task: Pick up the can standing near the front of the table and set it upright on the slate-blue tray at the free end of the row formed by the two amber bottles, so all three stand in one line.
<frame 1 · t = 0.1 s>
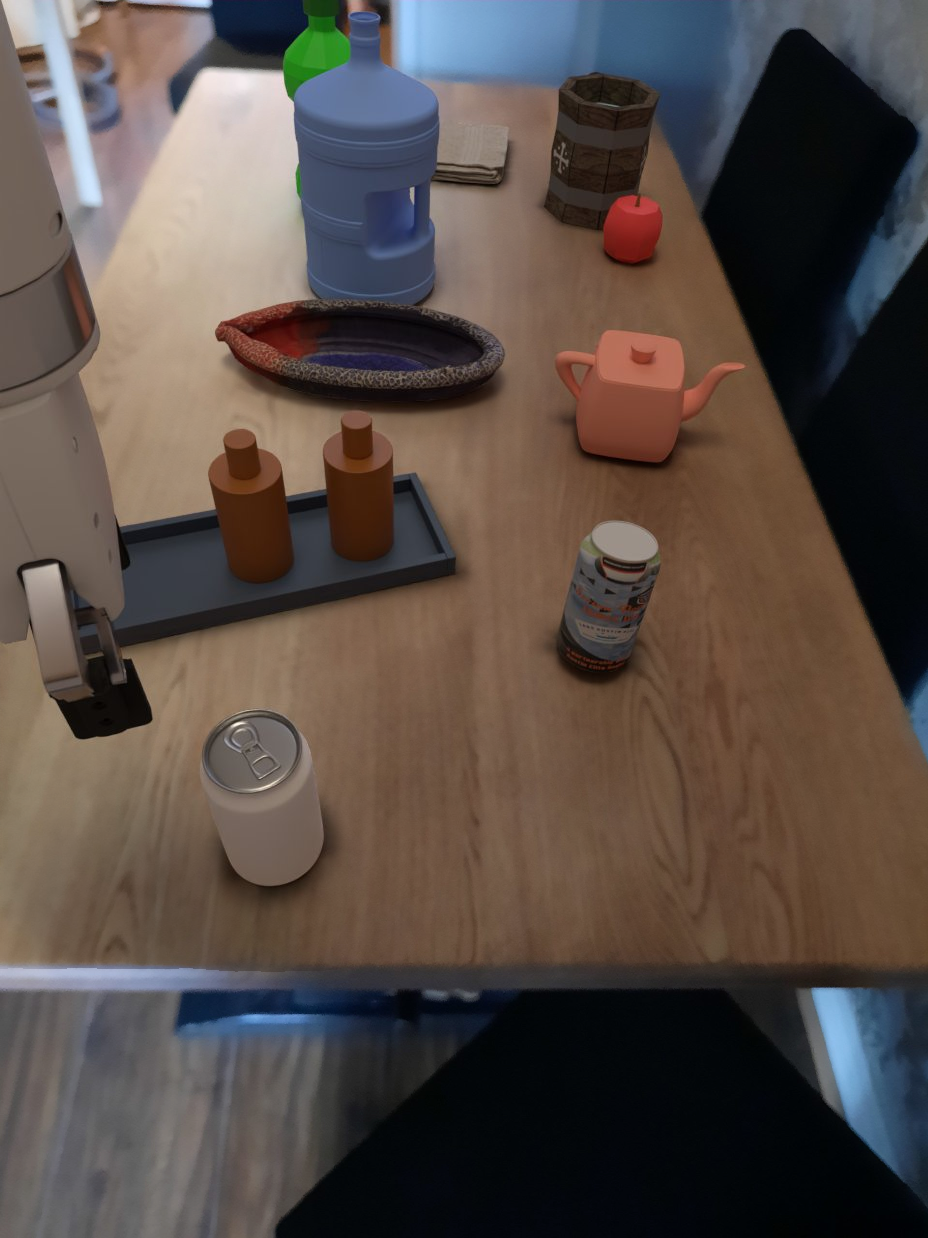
hand: (106, 642, 40), 22 cm above the table, tool pointing down, fingers open, 9 cm apart
amber bottle a: (261, 559, 74), point 1 cm above the table, touching tray
tray: (262, 564, 74), on the table
washcloth: (467, 161, 131), on the table
amber bottle b: (362, 539, 76), point 1 cm above the table, touching tray
beverage can: (593, 649, 70), on the table
apple: (626, 256, 115), on the table
dish: (362, 372, 94), on the table
mug: (587, 199, 125), on the table
teapot: (630, 434, 89), on the table
water jug: (371, 284, 106), on the table
can: (276, 844, 58), on the table
plastic bottle: (333, 212, 118), on the table
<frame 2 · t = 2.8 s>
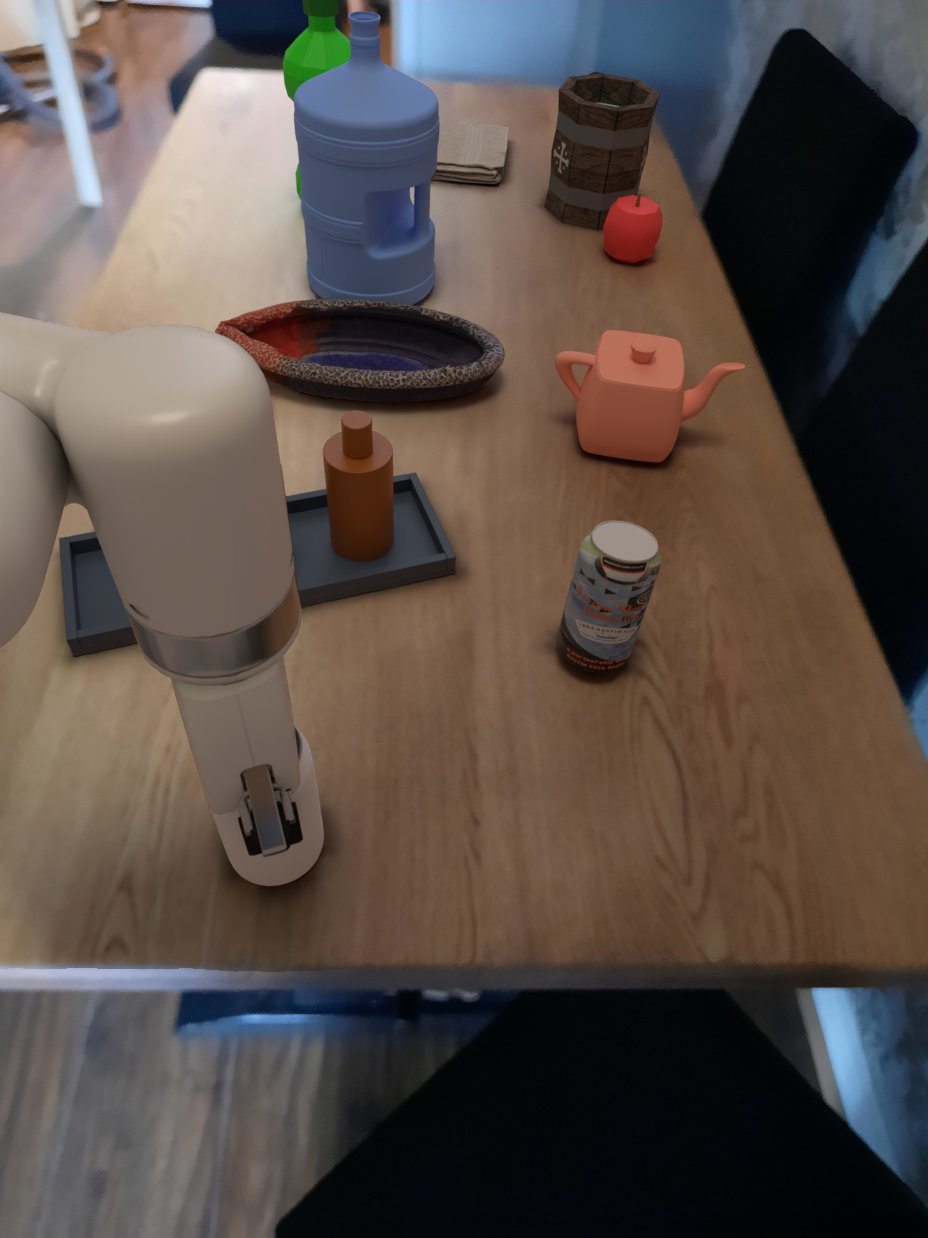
hand: (263, 791, 52), 7 cm above the table, tool pointing down, fingers closed on can, 6 cm apart
can: (276, 844, 58), on the table, touching gripper
everything else where it was.
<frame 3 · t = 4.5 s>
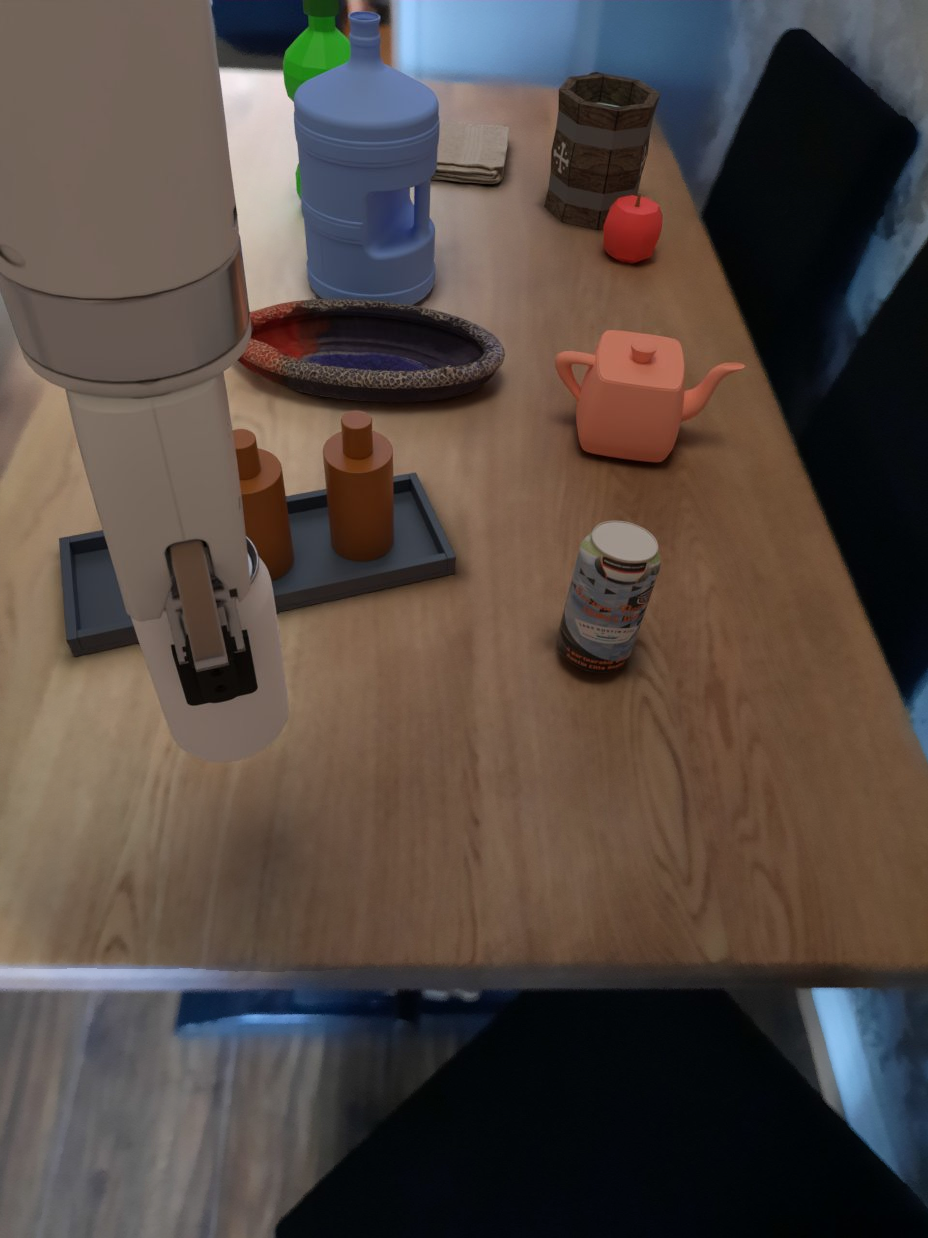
hand: (210, 634, 42), 22 cm above the table, tool pointing down, fingers closed on can, 6 cm apart
can: (230, 718, 47), point 14 cm above the table, touching gripper
everything else where it was.
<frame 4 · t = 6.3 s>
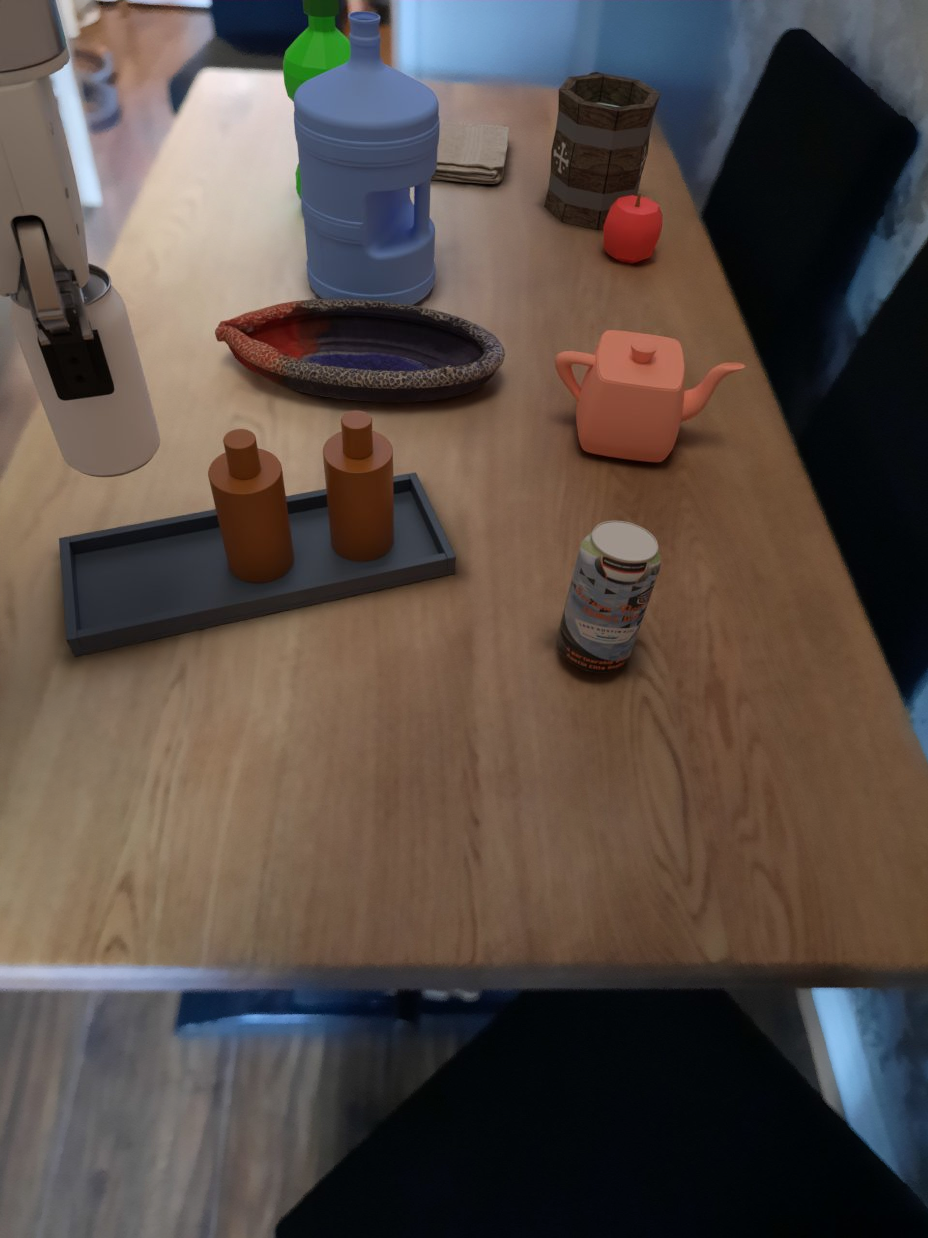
hand: (83, 359, 53), 23 cm above the table, tool pointing down, fingers closed on can, 6 cm apart
can: (114, 451, 59), point 16 cm above the table, touching gripper
everything else where it was.
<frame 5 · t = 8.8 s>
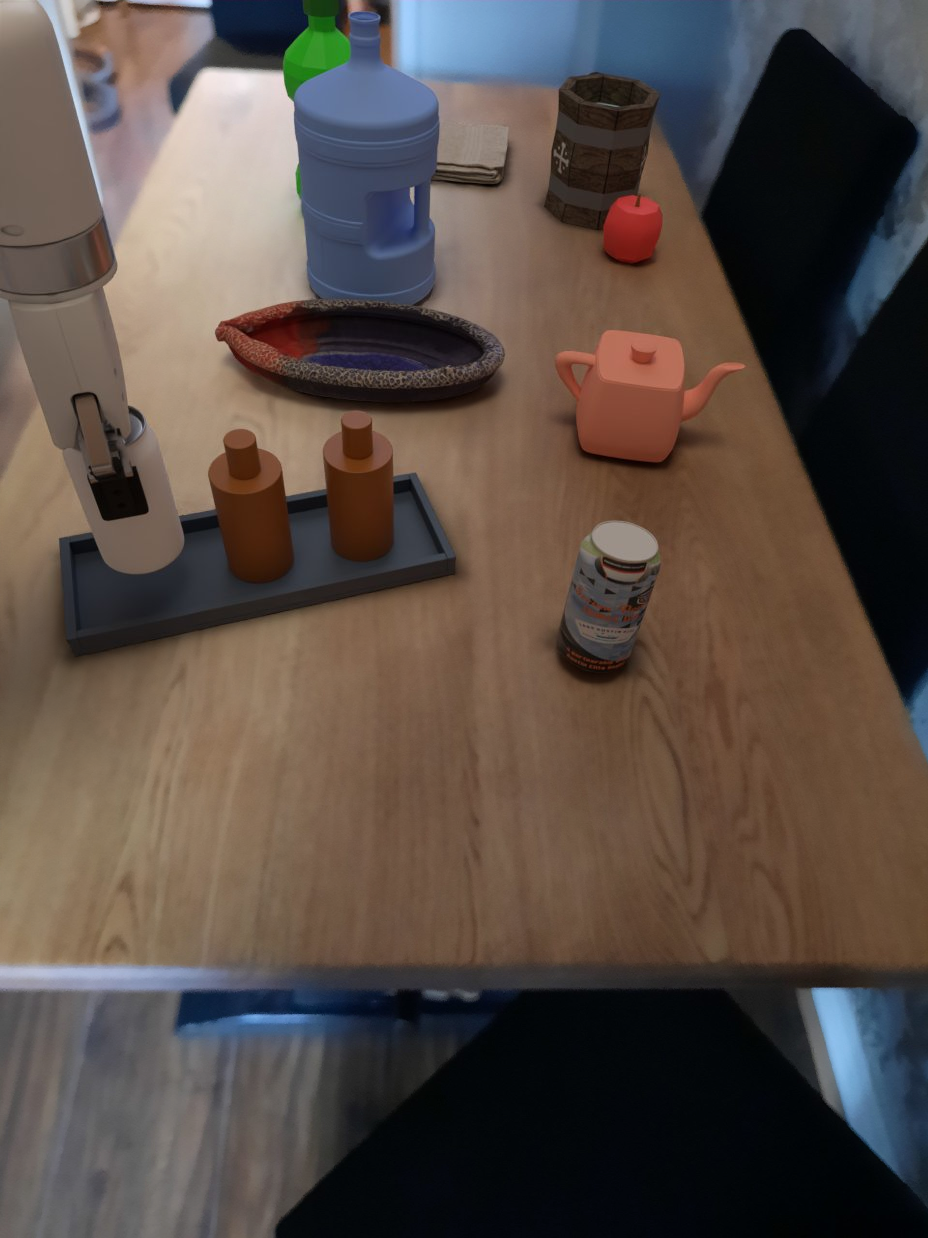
hand: (121, 481, 63), 12 cm above the table, tool pointing down, fingers closed on can, 6 cm apart
can: (144, 550, 69), point 4 cm above the table, touching gripper
everything else where it was.
when the fingers open (8 cm above the table, at t = 10.3 s): can stays where it is, resting on tray.
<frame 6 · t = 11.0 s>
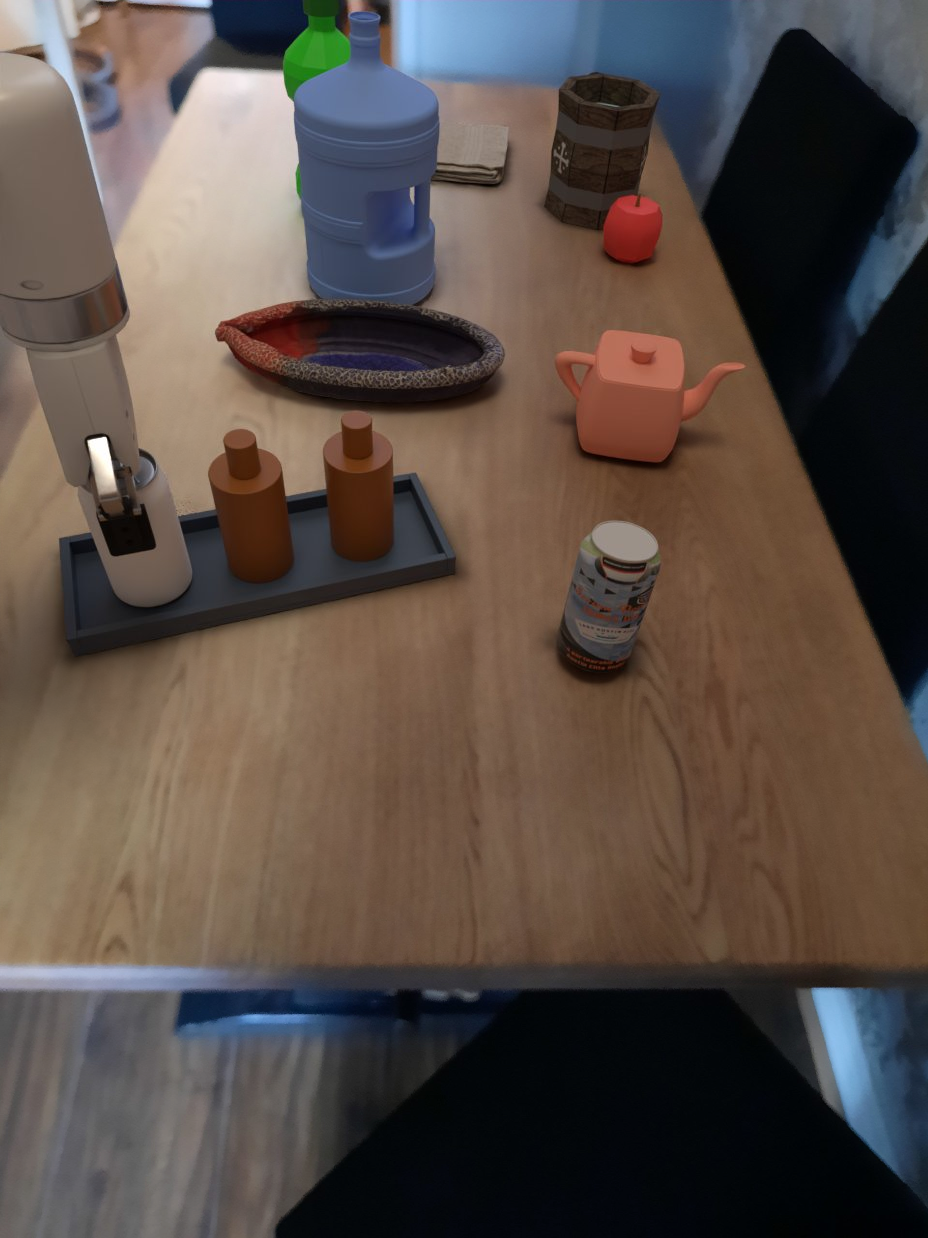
hand: (127, 506, 65), 9 cm above the table, tool pointing down, fingers open, 9 cm apart
can: (154, 583, 72), resting on tray
everything else where it was.
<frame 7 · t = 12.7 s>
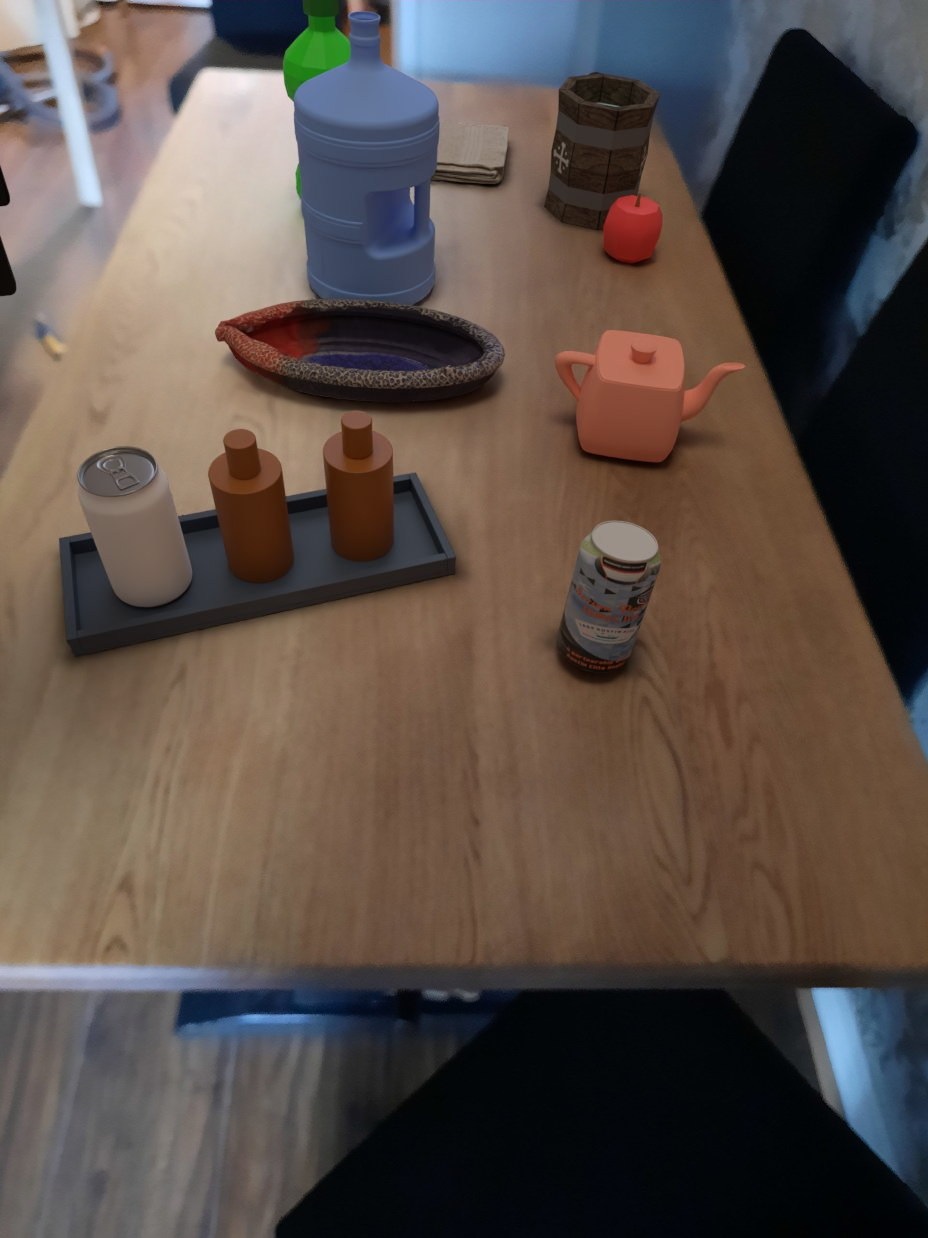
nothing on the table moved.
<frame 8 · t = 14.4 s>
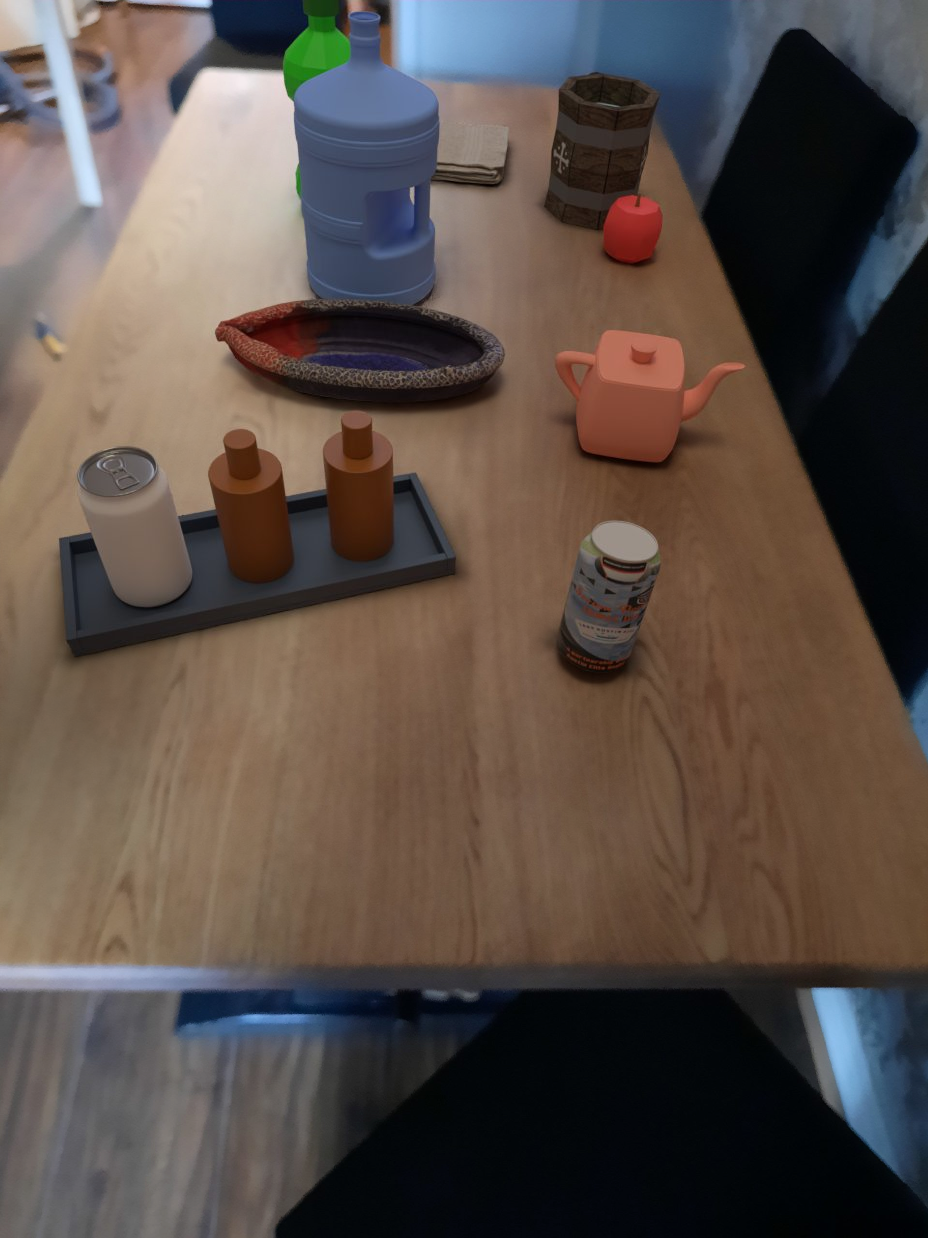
nothing on the table moved.
at the end: can 0.0 cm from the target spot in the tray, point 0.4 cm above the tray's base; can tilted 0°; amber bottle a moved 0.0 cm from its start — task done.
